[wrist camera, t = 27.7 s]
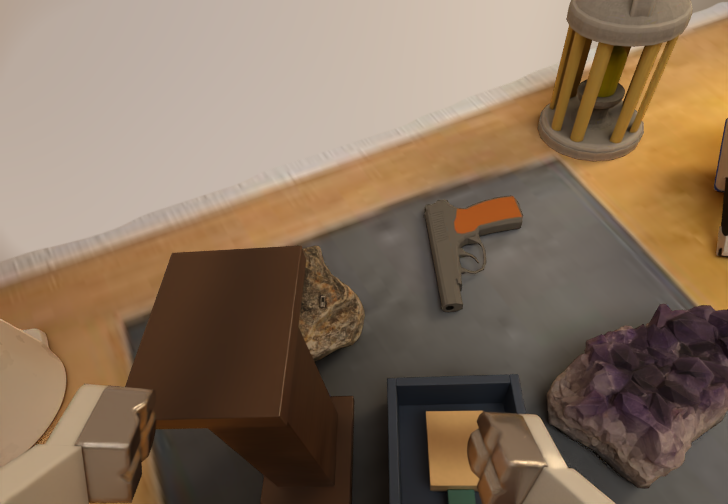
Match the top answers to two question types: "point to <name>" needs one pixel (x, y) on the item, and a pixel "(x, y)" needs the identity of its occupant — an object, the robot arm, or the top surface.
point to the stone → (327, 309)
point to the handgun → (464, 238)
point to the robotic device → (724, 182)
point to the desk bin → (408, 424)
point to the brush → (451, 454)
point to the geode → (646, 391)
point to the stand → (247, 370)
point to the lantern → (608, 75)
